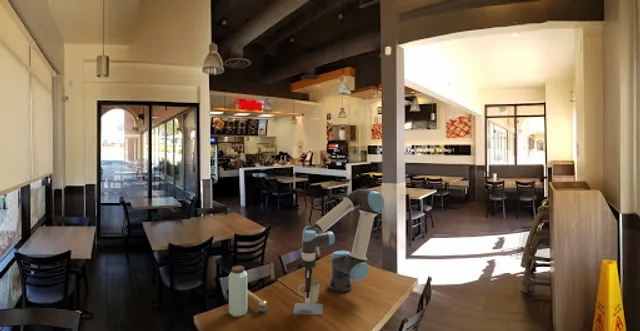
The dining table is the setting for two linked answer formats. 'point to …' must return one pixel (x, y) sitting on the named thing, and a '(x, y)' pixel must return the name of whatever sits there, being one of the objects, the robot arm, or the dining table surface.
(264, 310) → the lever post
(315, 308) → the mat
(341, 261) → the robot arm
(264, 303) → the lever
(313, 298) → the mug
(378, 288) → the dining table surface
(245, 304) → the water bottle
